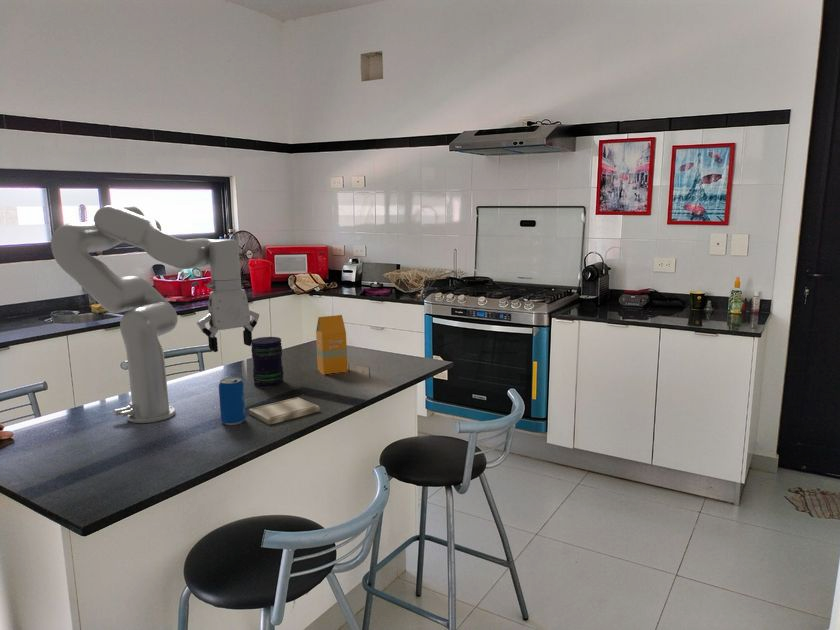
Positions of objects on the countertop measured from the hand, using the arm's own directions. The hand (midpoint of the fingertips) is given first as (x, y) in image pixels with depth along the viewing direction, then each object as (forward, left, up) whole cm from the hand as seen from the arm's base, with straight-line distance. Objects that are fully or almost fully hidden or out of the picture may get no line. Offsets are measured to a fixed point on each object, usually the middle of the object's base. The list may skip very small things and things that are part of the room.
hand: (231, 348), depth 170 cm
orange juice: (+48, +24, -21) cm, 58 cm away
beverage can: (-1, -1, -21) cm, 21 cm away
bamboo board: (+13, -4, -21) cm, 25 cm away
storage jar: (+24, +26, -21) cm, 41 cm away
